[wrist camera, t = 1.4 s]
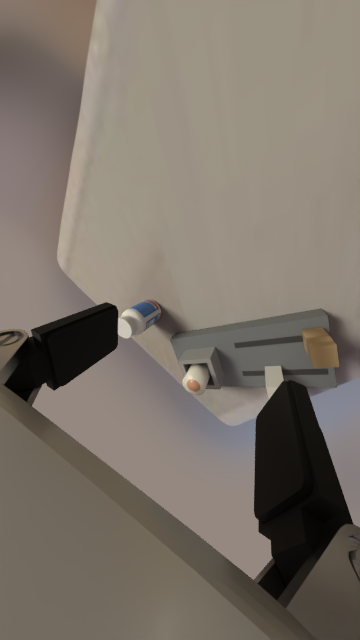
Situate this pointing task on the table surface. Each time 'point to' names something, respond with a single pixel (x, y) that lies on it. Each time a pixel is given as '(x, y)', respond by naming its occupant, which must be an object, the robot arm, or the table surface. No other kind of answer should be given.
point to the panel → (255, 351)
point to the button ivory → (197, 378)
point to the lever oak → (320, 348)
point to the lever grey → (273, 378)
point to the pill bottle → (138, 318)
